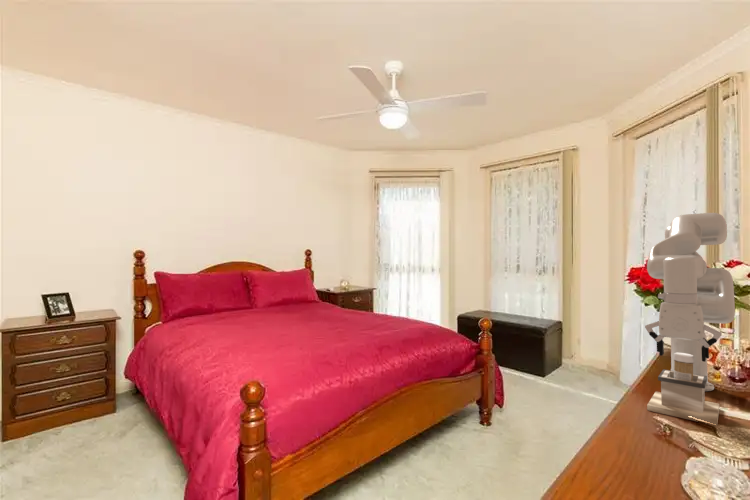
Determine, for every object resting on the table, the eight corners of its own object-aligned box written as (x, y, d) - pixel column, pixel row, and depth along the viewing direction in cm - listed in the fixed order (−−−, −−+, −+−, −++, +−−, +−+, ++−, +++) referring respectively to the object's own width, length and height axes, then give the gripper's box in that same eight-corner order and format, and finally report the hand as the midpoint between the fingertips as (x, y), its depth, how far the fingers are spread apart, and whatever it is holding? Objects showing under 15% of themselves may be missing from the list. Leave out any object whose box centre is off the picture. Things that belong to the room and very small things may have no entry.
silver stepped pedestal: (655, 396, 120) (654, 366, 120) (719, 408, 110) (718, 376, 110) (647, 410, 109) (646, 377, 109) (717, 425, 99) (716, 389, 99)
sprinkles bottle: (695, 401, 109) (696, 354, 109) (689, 404, 106) (690, 357, 106) (676, 396, 113) (677, 351, 113) (670, 399, 110) (671, 353, 110)
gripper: (642, 298, 114) (643, 355, 114) (720, 302, 101) (721, 366, 101) (646, 295, 119) (648, 350, 119) (721, 299, 107) (722, 359, 107)
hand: (682, 357), depth 110 cm, fingers open, 9 cm apart
